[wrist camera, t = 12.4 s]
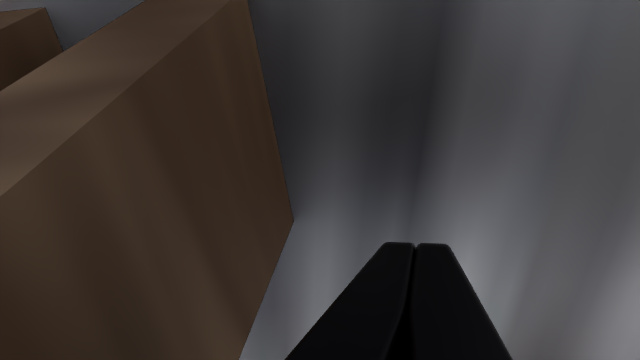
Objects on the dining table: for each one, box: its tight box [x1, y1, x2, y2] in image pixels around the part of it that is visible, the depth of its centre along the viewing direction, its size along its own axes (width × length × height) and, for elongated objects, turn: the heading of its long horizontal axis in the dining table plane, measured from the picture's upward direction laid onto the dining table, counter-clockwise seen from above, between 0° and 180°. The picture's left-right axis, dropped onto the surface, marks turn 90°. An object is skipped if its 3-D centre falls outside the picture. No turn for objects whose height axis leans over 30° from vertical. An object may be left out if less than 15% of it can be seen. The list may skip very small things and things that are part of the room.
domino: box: [0, 0, 294, 360], centre depth 9 cm, size 2×6×8 cm, turn 9°
